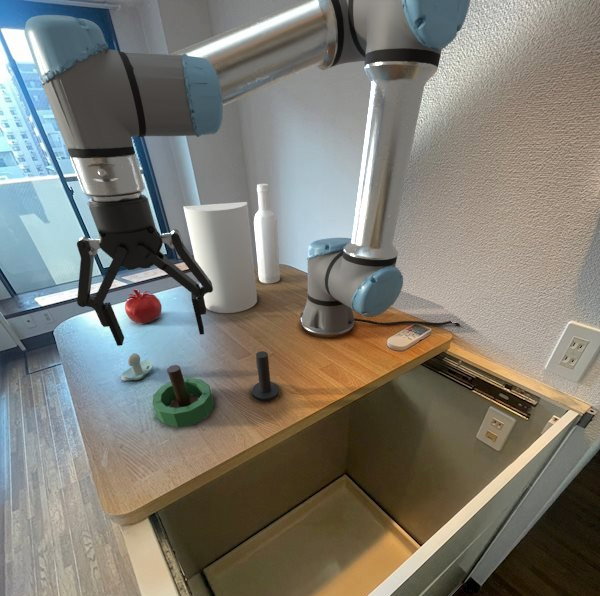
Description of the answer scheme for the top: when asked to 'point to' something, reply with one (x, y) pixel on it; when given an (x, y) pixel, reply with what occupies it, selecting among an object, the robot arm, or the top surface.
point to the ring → (183, 414)
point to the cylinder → (224, 254)
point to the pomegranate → (143, 307)
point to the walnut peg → (179, 388)
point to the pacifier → (136, 368)
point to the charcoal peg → (264, 380)
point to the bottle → (266, 238)
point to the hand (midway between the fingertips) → (162, 336)
